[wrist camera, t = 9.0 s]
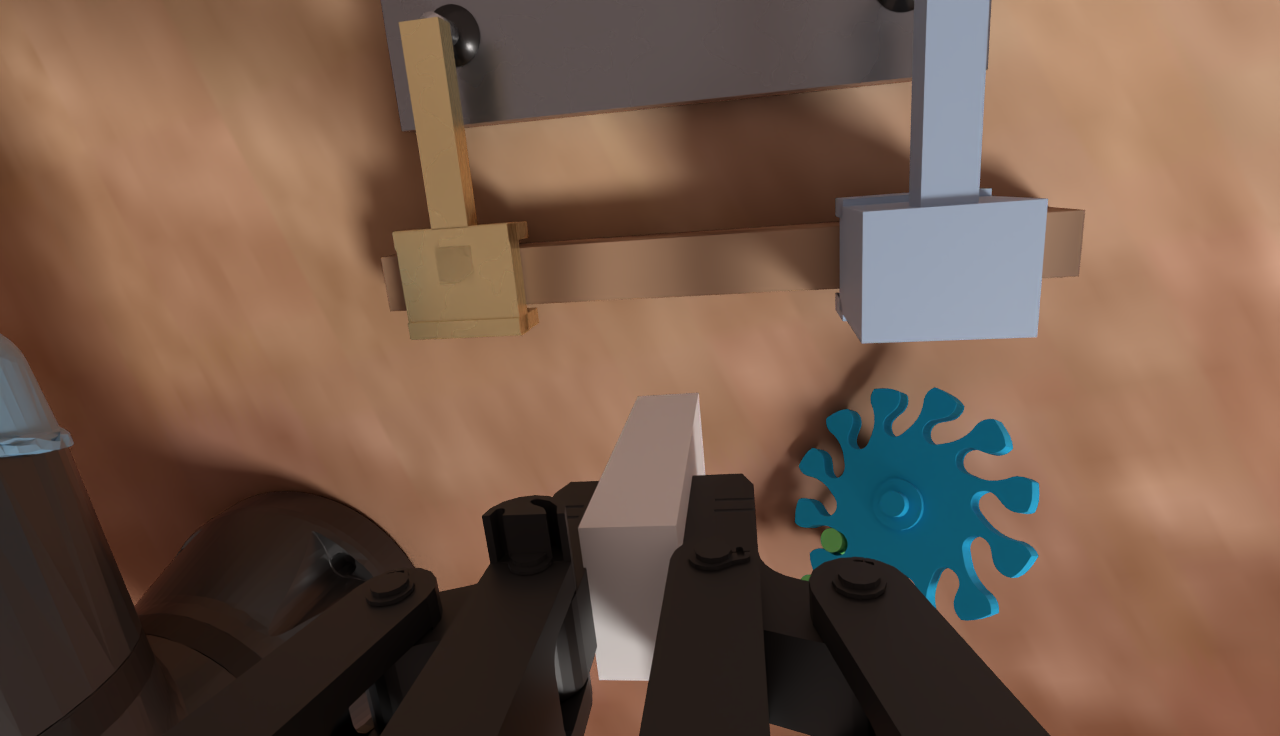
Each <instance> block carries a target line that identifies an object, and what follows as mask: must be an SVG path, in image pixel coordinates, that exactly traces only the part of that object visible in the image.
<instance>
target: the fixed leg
mask: <svg viewBox="0 0 1280 736" xmlns="http://www.w3.org/2000/svg"><path fill="white" fill-rule="evenodd" d="M399 27H400V34H401V40H402V46H403V53H404V59H405V66H406V72H407V78H408V85H409V91H410V97H411V104H412V110H413V116H414V123H415V129H416V136H417V142H418V148H419V155H420V161H421V167H422V174H423V180H424V186H425V193H426V199H427V206H428V212H429V218H430V225H431V228H426V229H413V230H402V231H395V232H393V233H392V235H393V241H394V247H395V250H396V251H397V257H398V262H399V268H400V274H401V280H402V286H403V292H404V297H405V303H406V309H407V315H408V321H409V323H408V328H409V334H410V339H412V340H422V339H446V338H470V337H494V336H518V335H523V334H525V333H526V332H528V331H529V329H530V328H532V327H533V326H535V325H537V324H538V323H539V320H538V312H537V308H527V306H526V297H525V289H524V281H523V273H522V265H521V257H520V249H519V241H518V240H521V239H525V238H529V237H528V228H527V221H523V222H506V223H493V224H479V225H478V223H477V216H476V209H475V202H474V195H473V188H472V180H471V173H470V166H469V159H468V152H467V144H466V137H465V130H464V123H463V116H462V108H461V101H460V94H459V87H458V80H457V72H456V65H455V58H454V51H453V45H455V44H456V43H457V41H458V39H459V30H458V27H457V26H456V24H455V23H453V22H452V21H450V20H448V19H446V18H444V17H442V16H441V15H439V14H437V13H435V12H432V11H428V12H425V13H424V14H423V15H422V16H421V17H420V19H418V20H410V21H403V22H399Z"/></svg>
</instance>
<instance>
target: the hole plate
mask: <svg viewBox="0 0 1280 736" xmlns="http://www.w3.org/2000/svg"><path fill="white" fill-rule="evenodd" d="M381 6H382V12H383V18H384V24H385V30H386V36H387V43H388V49H389V55H390V61H391V67H392V73H393V80H394V86H395V92H396V98H397V104H398V110H399V117H400V123H401V129H402V131H404V132H411V133H416V129H415V123H414V116H413V110H412V104H411V97H410V91H409V85H408V78H407V72H406V66H405V59H404V53H403V46H402V40H401V34H400V27H399V22H403V21H410V20H418V19H420V17H421V16H422V15H423V14H424V13H425V12H428V11H432V12H435V13H437V14H439V15H441V16H442V17H444V18H446V19H448V20H450V21H452V22H453V23H455V24H456V26H457V27H458V30H459V39H458V41H457V43H456V44H455V45H453V51H454V58H455V65H456V72H457V80H458V87H459V94H460V101H461V108H462V116H463V123H464V128H469V127H479V126H488V125H498V124H507V123H517V122H527V121H536V120H546V119H555V118H565V117H574V116H584V115H594V114H603V113H613V112H622V111H632V110H641V109H651V108H661V107H670V106H680V105H689V104H699V103H709V102H718V101H728V100H737V99H747V98H756V97H766V96H776V95H785V94H795V93H804V92H814V91H823V90H833V89H843V88H852V87H862V86H871V85H881V84H891V83H900V82H910V81H912V66H913V28H914V0H381ZM990 17H991V0H989V19H988V38H987V56H986V70H987V69H988V54H989V35H990Z"/></svg>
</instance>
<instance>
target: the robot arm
mask: <svg viewBox="0 0 1280 736" xmlns="http://www.w3.org/2000/svg"><path fill="white" fill-rule="evenodd" d="M73 444H74V442H73V440H72V437H71V434H70V432H68V431H67V430H65V429H64V428H62V427H60V426H59V425H58V423H57V421H56V419H55V417H54V415H53V413H52V411H51V409H50V407H49V404H48V402H47V400H46V398H45V396H44V394H43V392H42V390H41V388H40V386H39V384H38V382H37V380H36V378H35V376H34V374H33V372H32V370H31V368H30V366H29V364H28V362H27V360H26V358H25V356H24V355H23V354H22V352H21V351H20V349H19V348H18V347H17V346H16V345H15V344H14V343H13V342H11V341H10V340H9V339H8V338H6V337H5V336H3V335H2V334H0V736H584V733H585V729H586V725H587V722H588V718H589V714H590V710H591V707H592V687H591V680H590V673H589V672H590V669H591V666H592V662H593V659H594V655H595V653H596V660H597V667H598V674H599V680H649V682H648V688H647V694H646V699H645V705H644V711H643V717H642V722H641V728H640V734H639V736H770V726H769V723H770V724H774V725H777V726H780V727H784V728H787V729H791V730H794V731H797V732H801V733H804V734H808V735H811V736H1050V735H1049V734H1048V733H1047V731H1046V730H1045V729H1044V728H1043V727H1042V726H1041V725H1040V724H1039V723H1038V721H1037V720H1036V719H1035V718H1034V717H1033V716H1032V715H1031V714H1030V713H1029V711H1028V710H1027V709H1026V708H1025V707H1024V706H1023V705H1022V704H1021V703H1020V701H1019V700H1018V699H1017V698H1016V697H1015V696H1014V695H1013V694H1012V693H1011V691H1010V690H1009V689H1008V688H1007V687H1006V686H1005V685H1004V684H1003V683H1002V681H1001V680H1000V679H999V678H998V677H997V676H996V675H995V674H994V673H993V671H992V670H991V669H990V668H989V667H988V666H987V665H986V664H985V663H984V661H983V660H982V659H981V658H980V657H979V656H978V655H977V654H976V653H975V651H974V650H973V649H972V648H971V647H970V646H969V645H968V644H967V643H966V642H965V640H964V639H963V638H962V637H961V636H960V635H959V634H958V633H957V632H956V630H955V629H954V628H953V627H952V626H951V625H950V624H949V623H948V622H947V620H946V619H945V618H944V617H943V616H942V615H941V614H940V613H939V612H938V610H937V609H936V608H935V607H934V606H933V605H932V604H931V603H930V602H929V600H928V599H927V598H926V597H925V596H924V595H923V594H922V593H921V592H920V590H919V589H918V588H917V587H916V586H915V585H914V584H913V583H912V582H911V580H910V579H909V578H908V577H907V576H906V575H904V574H903V573H902V572H901V571H899V570H898V569H897V568H895V567H894V566H891V565H889V564H886V563H883V562H881V561H878V560H875V559H870V558H864V557H848V558H838V559H834V560H830V561H827V562H824V563H822V564H821V565H820V566H818V567H817V568H815V569H814V570H813V572H812V574H811V576H810V578H809V581H806V580H800V579H796V578H792V577H788V576H785V575H782V574H780V573H778V572H776V571H774V570H772V569H771V568H769V567H768V566H767V565H765V564H764V562H763V561H762V560H761V559H760V556H759V553H758V544H757V529H756V515H755V500H754V486H753V484H752V483H751V482H750V481H749V480H748V479H747V478H746V477H745V476H744V475H743V474H720V475H705V464H704V452H703V440H702V429H701V417H700V405H699V393H686V394H669V395H652V396H638V397H637V399H636V402H635V404H634V406H633V408H632V410H631V413H630V415H629V417H628V419H627V421H626V424H625V426H624V428H623V430H622V432H621V435H620V437H619V439H618V441H617V443H616V446H615V448H614V450H613V452H612V454H611V457H610V459H609V461H608V463H607V465H606V468H605V470H604V472H603V474H602V476H601V479H600V481H587V482H570V483H569V484H568V485H566V486H565V487H563V488H562V489H561V490H559V491H558V492H556V493H555V494H554V496H553V497H550V496H538V495H534V496H525V497H518V498H515V499H512V500H508V501H505V502H502V503H500V504H498V505H496V506H494V507H492V508H490V509H489V510H488V511H487V512H486V513H485V514H484V515H482V519H483V525H484V530H485V536H486V541H487V547H488V553H489V558H490V565H489V566H488V568H487V569H486V571H485V573H484V574H483V576H482V577H481V579H480V580H479V582H478V583H477V584H474V585H470V586H466V587H461V588H456V589H451V590H446V591H441V592H439V589H438V584H437V580H436V577H435V576H434V575H433V573H432V572H431V571H428V570H425V569H422V568H414V567H413V565H412V564H411V562H410V561H409V559H408V558H407V557H406V555H405V554H404V553H403V552H402V550H401V549H400V548H399V547H398V546H397V545H396V543H395V542H394V541H393V540H392V539H391V538H390V537H389V536H388V535H387V534H386V533H384V532H383V531H382V530H381V529H380V528H379V527H377V526H376V525H375V524H374V523H372V522H371V521H370V520H368V519H367V518H365V517H364V516H362V515H361V514H359V513H357V512H356V511H354V510H352V509H350V508H348V507H346V506H344V505H342V504H340V503H337V502H335V501H332V500H330V499H327V498H324V497H320V496H316V495H313V494H307V493H301V492H289V491H282V492H270V493H264V494H259V495H256V496H253V497H250V498H247V499H245V500H243V501H241V502H239V503H237V504H235V505H234V506H232V507H231V508H229V509H227V510H226V511H224V512H223V513H221V514H219V515H218V516H216V517H214V518H213V519H211V520H210V521H208V522H207V523H205V524H204V525H203V526H201V527H200V528H199V529H198V530H197V531H196V532H195V533H193V534H192V535H191V536H190V537H189V539H188V540H187V541H186V542H185V544H184V545H183V546H182V548H181V549H180V551H179V553H178V554H177V556H176V557H175V559H174V560H173V561H172V562H171V563H170V564H169V566H168V567H167V568H166V569H165V570H164V571H163V573H162V574H161V575H160V576H159V577H158V578H157V580H156V581H155V582H154V583H153V584H152V586H151V587H150V588H149V589H148V590H147V592H146V593H145V594H144V595H143V597H142V598H141V599H140V600H139V601H138V603H137V604H136V605H135V606H134V605H133V602H132V600H131V597H130V595H129V593H128V590H127V588H126V585H125V583H124V580H123V578H122V576H121V573H120V571H119V568H118V566H117V564H116V561H115V559H114V556H113V554H112V551H111V549H110V547H109V544H108V542H107V539H106V537H105V535H104V532H103V530H102V527H101V525H100V522H99V520H98V518H97V515H96V513H95V510H94V508H93V505H92V503H91V501H90V498H89V496H88V493H87V491H86V489H85V486H84V484H83V481H82V479H81V476H80V474H79V472H78V469H77V467H76V464H75V462H74V460H73V457H72V455H71V452H70V450H69V447H70V446H72V445H73Z"/></svg>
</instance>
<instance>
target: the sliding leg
mask: <svg viewBox="0 0 1280 736" xmlns="http://www.w3.org/2000/svg"><path fill="white" fill-rule="evenodd" d="M988 19H989V0H914V28H913V66H912V103H911V140H910V177H909V193H895V194H882V195H869V196H855V197H842V198H835V216H837V217H839V218H840V293H836V311H837V313H838V314H839V316H840V317H841V319H842V321H847V322H848V323H849V325H850V326H851V328H852V329H853V331H854V332H855V334H856V336H857V337H858V339H859V340H860V342H861V343H887V342H915V341H942V340H970V339H998V338H1026V337H1037V332H1038V319H1039V307H1040V294H1041V282H1042V269H1043V257H1044V244H1045V232H1046V219H1047V207H1048V199H1043V198H1025V197H1006V196H991V195H992V188H979V187H980V168H981V150H982V131H983V112H984V94H985V75H986V56H987V38H988Z"/></svg>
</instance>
